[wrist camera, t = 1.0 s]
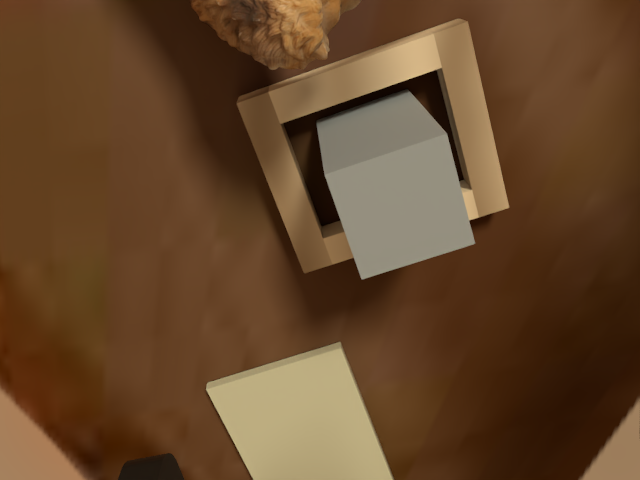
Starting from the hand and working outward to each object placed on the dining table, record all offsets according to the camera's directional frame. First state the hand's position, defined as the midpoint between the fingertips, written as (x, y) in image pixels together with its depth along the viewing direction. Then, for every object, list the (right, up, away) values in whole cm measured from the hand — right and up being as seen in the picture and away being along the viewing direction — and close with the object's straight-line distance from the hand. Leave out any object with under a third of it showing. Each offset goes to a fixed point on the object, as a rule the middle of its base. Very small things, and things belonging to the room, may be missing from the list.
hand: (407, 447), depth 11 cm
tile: (-2, -9, +27) cm, 29 cm away
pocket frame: (+1, +8, +19) cm, 21 cm away
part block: (+1, +8, +19) cm, 21 cm away
